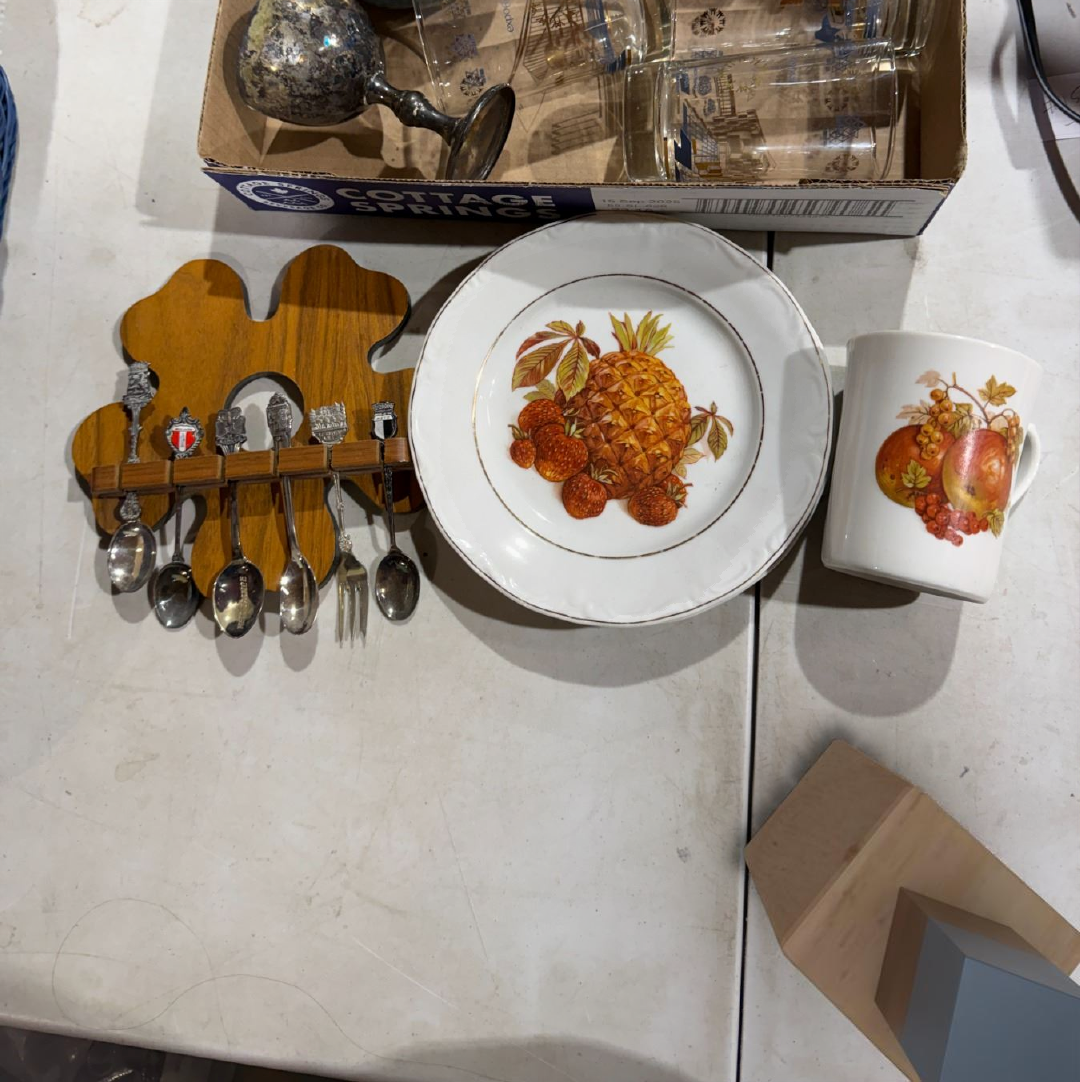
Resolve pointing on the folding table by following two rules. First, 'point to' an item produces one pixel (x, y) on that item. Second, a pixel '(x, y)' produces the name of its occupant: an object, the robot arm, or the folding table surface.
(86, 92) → the folding table surface
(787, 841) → the wooden block
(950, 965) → the slate cube
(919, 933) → the walnut cube
